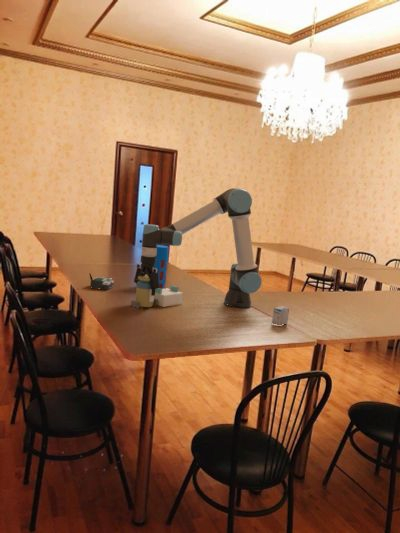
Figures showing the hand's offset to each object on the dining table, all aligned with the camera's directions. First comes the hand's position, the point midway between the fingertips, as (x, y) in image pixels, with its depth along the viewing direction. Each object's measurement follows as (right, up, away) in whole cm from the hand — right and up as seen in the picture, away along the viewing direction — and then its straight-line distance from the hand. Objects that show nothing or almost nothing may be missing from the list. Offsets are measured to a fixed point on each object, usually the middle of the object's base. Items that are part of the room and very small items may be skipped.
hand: (144, 299), depth 233 cm
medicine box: (+67, -12, -9) cm, 68 cm away
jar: (-1, -4, 0) cm, 4 cm away
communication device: (-29, +5, +37) cm, 47 cm away
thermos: (+1, +4, +49) cm, 49 cm away
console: (+5, -3, +6) cm, 8 cm away
